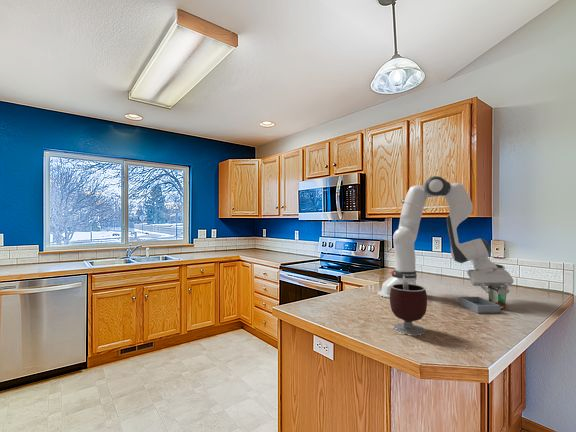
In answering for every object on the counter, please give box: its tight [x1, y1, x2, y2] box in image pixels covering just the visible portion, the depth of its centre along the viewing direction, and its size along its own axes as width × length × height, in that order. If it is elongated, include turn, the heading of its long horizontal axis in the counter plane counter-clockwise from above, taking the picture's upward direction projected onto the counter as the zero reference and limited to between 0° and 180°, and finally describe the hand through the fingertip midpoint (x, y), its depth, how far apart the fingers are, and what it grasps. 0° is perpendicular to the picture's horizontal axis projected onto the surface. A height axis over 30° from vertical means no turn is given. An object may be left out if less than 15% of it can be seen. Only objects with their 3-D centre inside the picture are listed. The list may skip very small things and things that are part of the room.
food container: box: [487, 285, 509, 311], centre depth 153 cm, size 12×6×10 cm, turn 168°
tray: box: [457, 296, 501, 314], centre depth 152 cm, size 11×17×4 cm, turn 0°
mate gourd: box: [389, 276, 428, 336], centre depth 124 cm, size 16×14×20 cm
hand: (498, 292), depth 154 cm, fingers open, 8 cm apart
